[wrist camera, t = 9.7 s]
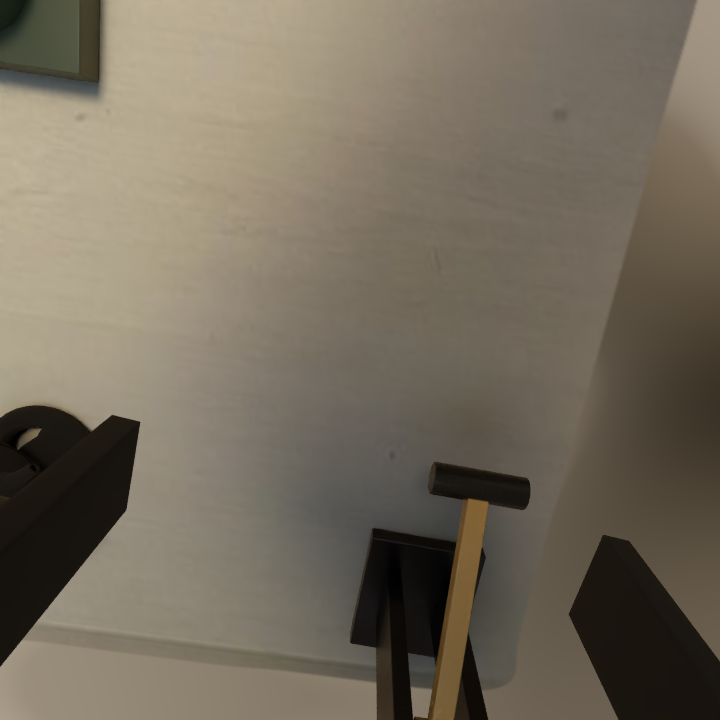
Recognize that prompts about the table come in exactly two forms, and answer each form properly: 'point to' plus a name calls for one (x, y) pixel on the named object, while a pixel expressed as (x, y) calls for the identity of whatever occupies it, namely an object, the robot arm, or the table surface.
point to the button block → (50, 37)
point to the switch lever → (465, 566)
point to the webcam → (34, 444)
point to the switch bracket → (409, 618)
